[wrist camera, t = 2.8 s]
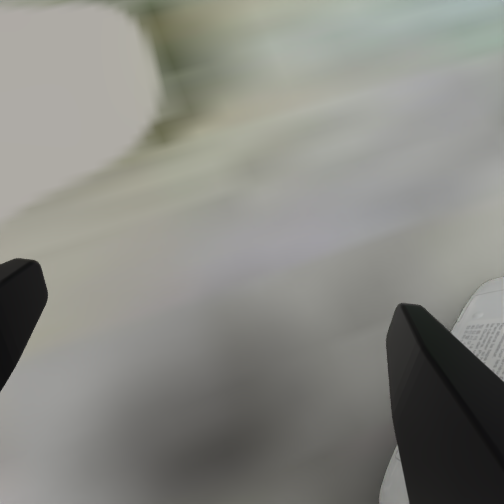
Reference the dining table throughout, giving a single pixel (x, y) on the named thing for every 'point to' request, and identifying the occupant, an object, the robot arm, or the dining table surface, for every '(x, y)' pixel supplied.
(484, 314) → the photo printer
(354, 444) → the dining table surface
